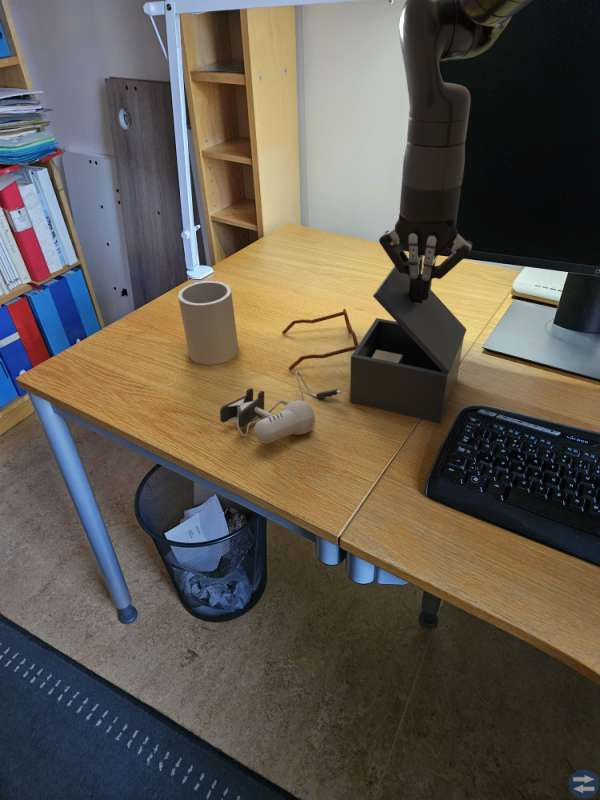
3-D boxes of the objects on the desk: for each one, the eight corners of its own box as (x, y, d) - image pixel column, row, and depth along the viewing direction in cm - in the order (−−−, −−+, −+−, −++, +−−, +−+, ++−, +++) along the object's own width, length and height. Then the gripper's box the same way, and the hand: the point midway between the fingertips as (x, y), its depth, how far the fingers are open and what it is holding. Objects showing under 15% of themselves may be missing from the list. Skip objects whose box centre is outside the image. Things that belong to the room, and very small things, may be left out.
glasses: (362, 364, 98) (362, 339, 95) (288, 371, 97) (287, 347, 94) (348, 327, 109) (348, 304, 106) (281, 333, 108) (279, 310, 105)
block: (400, 377, 93) (402, 354, 91) (393, 392, 90) (395, 369, 88) (375, 371, 95) (376, 349, 92) (366, 386, 92) (367, 363, 89)
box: (349, 402, 90) (350, 356, 85) (374, 361, 99) (376, 317, 94) (440, 423, 85) (447, 376, 80) (457, 378, 94) (464, 333, 89)
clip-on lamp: (297, 396, 96) (215, 428, 84) (299, 362, 94) (214, 389, 82) (350, 419, 89) (268, 457, 77) (354, 383, 87) (269, 416, 74)
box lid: (372, 296, 77) (376, 292, 77) (398, 260, 86) (402, 257, 86) (445, 374, 80) (449, 372, 79) (462, 332, 89) (467, 329, 88)
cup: (246, 354, 102) (239, 295, 95) (200, 370, 99) (190, 310, 91) (225, 333, 109) (217, 276, 101) (181, 347, 105) (170, 289, 98)
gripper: (372, 182, 71) (367, 304, 81) (479, 192, 66) (459, 320, 77) (390, 166, 76) (383, 283, 87) (490, 174, 71) (469, 296, 82)
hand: (419, 300), depth 82 cm, fingers closed
